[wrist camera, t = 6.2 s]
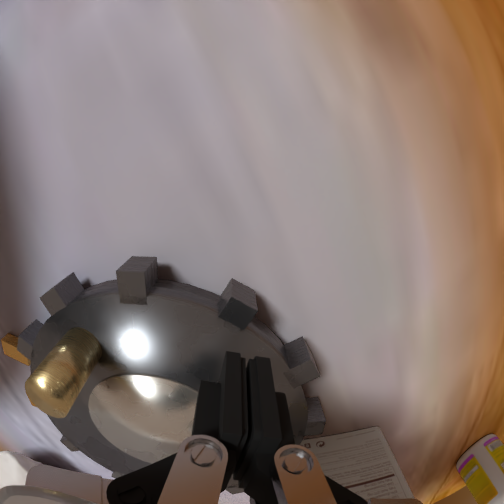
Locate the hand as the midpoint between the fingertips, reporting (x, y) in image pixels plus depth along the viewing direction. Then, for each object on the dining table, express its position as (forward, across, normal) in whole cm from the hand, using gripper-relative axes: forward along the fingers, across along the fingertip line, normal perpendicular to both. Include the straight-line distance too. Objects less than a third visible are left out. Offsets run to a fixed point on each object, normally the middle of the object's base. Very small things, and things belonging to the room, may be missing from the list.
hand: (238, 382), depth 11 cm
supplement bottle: (+5, -34, +15) cm, 37 cm away
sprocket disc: (+4, +3, +6) cm, 8 cm away
